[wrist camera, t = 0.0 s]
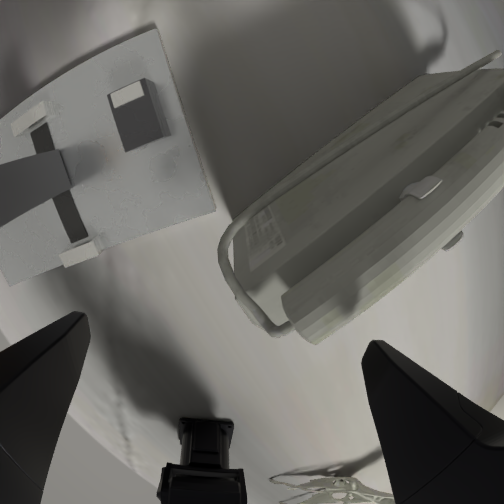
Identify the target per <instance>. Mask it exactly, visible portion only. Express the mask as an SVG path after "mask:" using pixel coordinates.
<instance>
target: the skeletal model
mask: <svg viewBox="0 0 504 504" xmlns="http://www.w3.org/2000/svg"><path fill="white" fill-rule="evenodd" d="M339 479H343V481H344V482H341V481H340V480H339ZM334 480H336V482H335V484H334V485H333V481H334ZM345 480H347V481H349V483H346V481H345ZM270 482H272V483H274V484H285V485H287V486H290V487H291V488H287V489H291V490H295V489H302V490H305V491H310V492H316V493H318V494H315V495H312V497H311V498H310V499H308V500H306V501H303V502H301V503H299V504H317V503H336V502H340V501H343V502H345V503H344V504H350V503H363V502H366V503H376V504H395V500H394V496H393V494H389V493H385V492H380V491H377V490H374V489H371V488H369V487H366V486H365V485H363V484H362V483H361V482H360V481H359V480H357V479H356V478H353V477H339V476H337V477H332V478H320V479H314V480H310V482H308V483H304V484H301V485H298V486H296V485H292V484H288V483H283V482H278V481H275V480H273V479H271V480H270ZM306 488H327V489H325V490H324V491H315V490H310V489H306ZM333 493H347V495H346V497H344V498H342V499H334V498H333V497H332V494H333ZM350 496H353V497H354V498H353V499H351V500H350V499H349V497H350ZM279 503H280V504H286V503H282V502H279Z"/></svg>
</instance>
